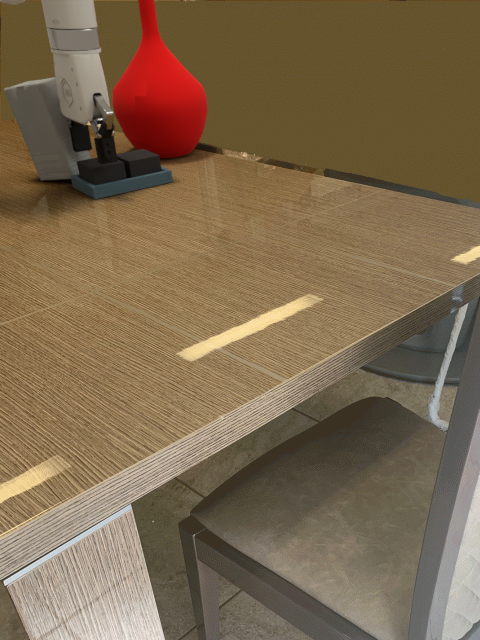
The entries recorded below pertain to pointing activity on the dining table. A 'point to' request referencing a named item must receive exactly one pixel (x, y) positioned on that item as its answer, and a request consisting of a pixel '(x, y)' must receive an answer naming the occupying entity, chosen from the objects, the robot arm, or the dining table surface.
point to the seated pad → (140, 162)
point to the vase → (159, 96)
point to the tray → (122, 184)
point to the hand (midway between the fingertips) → (95, 156)
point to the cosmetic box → (45, 128)
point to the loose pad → (101, 171)
